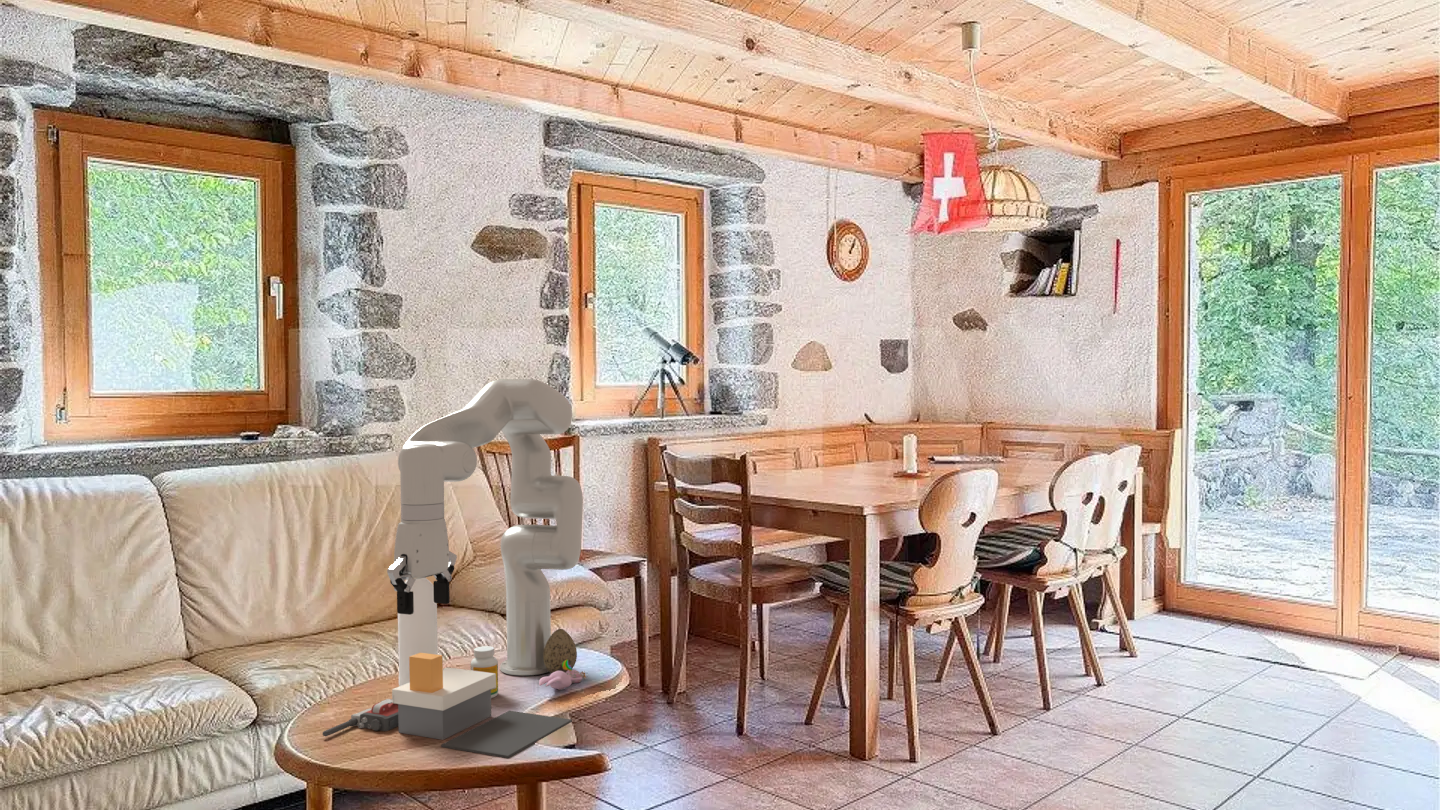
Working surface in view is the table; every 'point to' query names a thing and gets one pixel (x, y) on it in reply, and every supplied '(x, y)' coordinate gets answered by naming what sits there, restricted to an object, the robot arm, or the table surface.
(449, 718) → the tub
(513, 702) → the table surface
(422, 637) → the bottle
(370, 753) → the table surface
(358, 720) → the walkie-talkie
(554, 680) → the rabbit figure
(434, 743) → the table surface
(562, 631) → the decorative egg
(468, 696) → the lid
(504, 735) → the mat
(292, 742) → the table surface
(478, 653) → the supplement bottle
